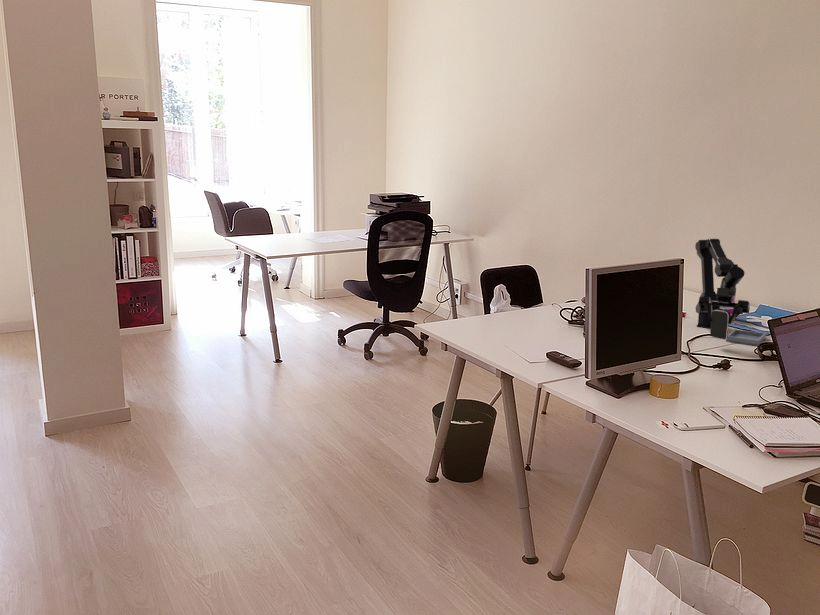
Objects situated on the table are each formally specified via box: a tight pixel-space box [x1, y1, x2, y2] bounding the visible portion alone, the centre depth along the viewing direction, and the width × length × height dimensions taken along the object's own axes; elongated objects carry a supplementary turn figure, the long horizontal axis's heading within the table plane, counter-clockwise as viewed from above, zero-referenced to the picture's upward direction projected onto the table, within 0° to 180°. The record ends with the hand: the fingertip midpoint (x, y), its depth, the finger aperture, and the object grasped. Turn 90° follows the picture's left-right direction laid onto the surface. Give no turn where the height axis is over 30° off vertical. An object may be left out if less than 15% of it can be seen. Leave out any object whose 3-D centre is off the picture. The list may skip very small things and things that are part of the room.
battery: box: [709, 310, 731, 340], centre depth 279 cm, size 7×4×11 cm, turn 37°
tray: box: [725, 328, 767, 347], centre depth 291 cm, size 12×12×2 cm
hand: (719, 322), depth 278 cm, fingers closed on battery, 7 cm apart
